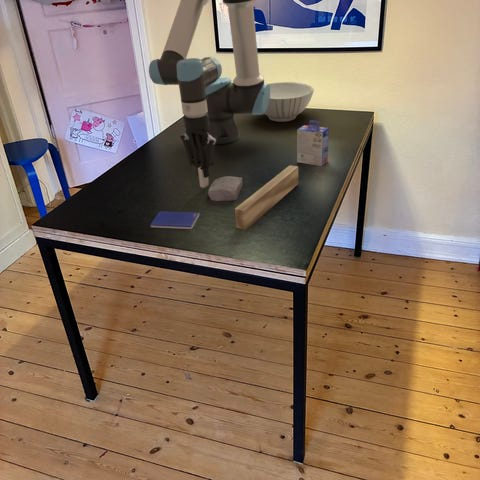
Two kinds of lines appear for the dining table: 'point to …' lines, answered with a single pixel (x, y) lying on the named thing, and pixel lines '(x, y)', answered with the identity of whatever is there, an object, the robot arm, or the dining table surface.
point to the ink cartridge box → (312, 144)
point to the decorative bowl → (287, 100)
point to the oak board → (266, 197)
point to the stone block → (225, 188)
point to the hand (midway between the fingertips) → (204, 185)
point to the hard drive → (175, 220)
